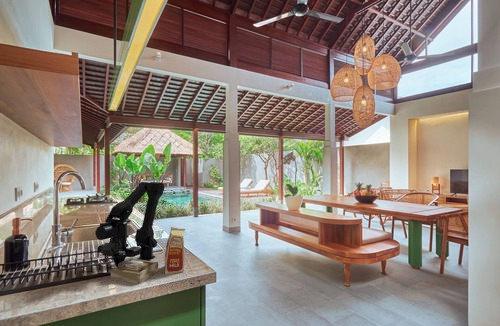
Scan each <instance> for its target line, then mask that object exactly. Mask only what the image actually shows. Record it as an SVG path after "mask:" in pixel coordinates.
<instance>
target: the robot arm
mask: <svg viewBox="0 0 500 326" xmlns="http://www.w3.org/2000/svg"><path fill="white" fill-rule="evenodd" d="M164 191H165V185H164V183H163V182H160V181H159V182H158V181H156V182H155V181H150V182H149V181H141V182H139V184H138V185H137V186H136V188H134V190H132V192H131V193H129V195H127V197H126V198H125V199H124V200H122V201H120V202H117V204H115V205H113V206H112V208H111V209H110V212H109V213H108V215H107V217H106V219H105V220H104V222H99V226H98V227H97V228H96V230H95V231H94V232H95V233H94V234H95V237H96V238H97V239H98V240H99V241H104V240H108V239H109V241H108V242H105V243H102V244H100V245H98V247H97V249H96V250H97V254H98V253H99V254H102V256H104V257H105V256H106V257H107V256H108V258H109V257H111V258H112V259H113V261H114V264H115V267H118V264H119V263H121V262H123V261H125V260H126V258H127V257H128V258H134V257H136V256H138V255H139V257H138V258H136V259H139V260H146V261H152V259H154V258H156V255H154V249H155V248H156V247H157V246H158V240H156V238H155V232H154V229H153V225H154V222H155V221H154V220H155V216H156V215H155V214H156V212H157V206H158V202H159V200H160V198H161V197H162V196H163V193H164ZM145 194H146V195H147V203H146V207H145V210H144V211H145V212H144V216H143V221H142V225H141V227H140V228H139V229H138V228H137V229H136V232H135V235H134V241H135V243H136V246H130V247H129V243H128V241H127V240H128V238H129V237H130V235H129V234H128V224H129V223H131V222H132V220H131V219H130V218H129V217H130V215H132V213H133V210H134V207H135V205H136V204H137V203H138V202H139V201H140V200H141V199H142V197H144V196H145Z"/></svg>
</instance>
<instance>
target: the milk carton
mask: <svg viewBox="0 0 500 326" xmlns="http://www.w3.org/2000/svg"><path fill="white" fill-rule="evenodd" d="M185 231H186V228H180V227H174V226H170V232H169V236H168V239H167V242H166V245H165V246H166V247H165V251H164V252H165V253H164V272H165V275H172V274H177V273H178V274H179V273H184V272H185V242H184V236H185V235H184V234H185Z"/></svg>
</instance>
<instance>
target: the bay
mask: <svg viewBox="0 0 500 326" xmlns="http://www.w3.org/2000/svg"><path fill="white" fill-rule="evenodd" d="M132 260H134V261H141V262H143V263H148V268H146V269H144V270H143V271H141V272H140V273H139V272H132V271H126V270H119V269H115V268H110V274H111V275H110V280H116V281H122V282H126V281H127V283H132V282H133V284H139V283H140V284H142V283H143V282H145V281H146V280H147V279H149V278H150V277H151V276H153V275H154V274H156V273H157V272H158V271H159V262H158V261H152V260H149V261H146V260H139V259H137V258H129V261H132Z"/></svg>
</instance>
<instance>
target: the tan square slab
mask: <svg viewBox="0 0 500 326" xmlns="http://www.w3.org/2000/svg"><path fill="white" fill-rule="evenodd" d="M146 268H148V263H143V262H141V261H134V260H132V261H130V258H127V259H125V260H124V261H123V262H121V263H119V264H118V267H117V269H119V270H126V271H132V272H139V273H140V272H141V271H143V270H144V269H146Z"/></svg>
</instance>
